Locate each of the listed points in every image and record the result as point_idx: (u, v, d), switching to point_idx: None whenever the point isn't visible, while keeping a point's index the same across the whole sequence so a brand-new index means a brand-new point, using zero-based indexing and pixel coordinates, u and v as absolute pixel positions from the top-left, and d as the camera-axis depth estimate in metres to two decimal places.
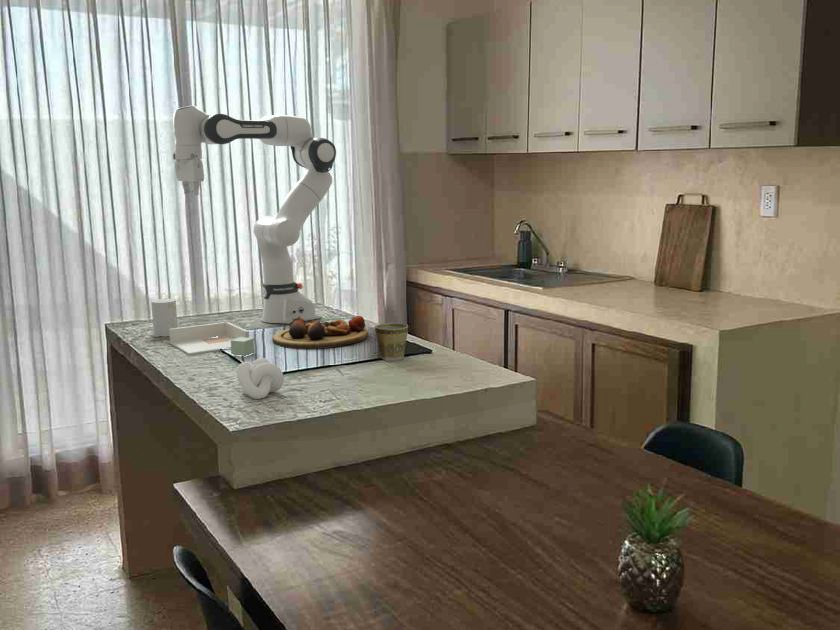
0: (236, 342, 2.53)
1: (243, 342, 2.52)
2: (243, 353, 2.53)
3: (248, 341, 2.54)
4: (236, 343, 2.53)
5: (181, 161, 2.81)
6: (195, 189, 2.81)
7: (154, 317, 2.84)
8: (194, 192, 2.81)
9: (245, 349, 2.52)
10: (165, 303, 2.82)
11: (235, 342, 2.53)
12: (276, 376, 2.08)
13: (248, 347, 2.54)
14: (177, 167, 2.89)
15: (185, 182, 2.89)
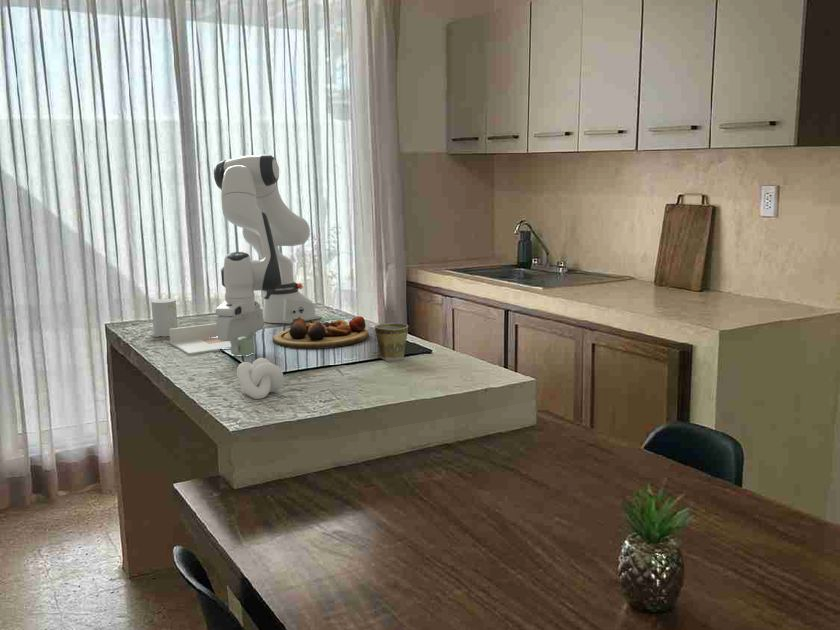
0: None
1: (243, 342, 2.52)
2: (243, 353, 2.52)
3: (248, 341, 2.54)
4: None
5: (250, 313, 2.53)
6: None
7: (154, 317, 2.84)
8: None
9: (245, 349, 2.52)
10: (165, 303, 2.82)
11: None
12: (276, 376, 2.08)
13: (248, 347, 2.54)
14: (231, 324, 2.46)
15: None
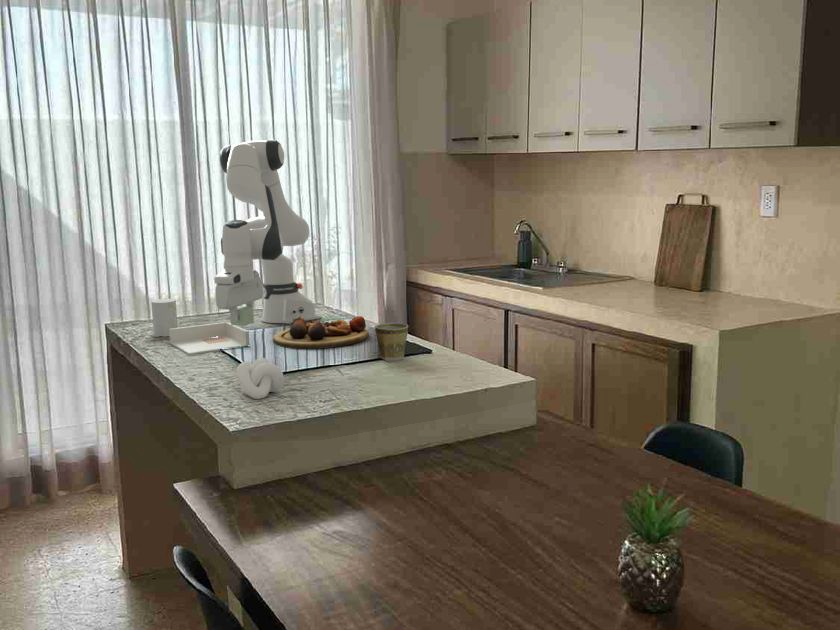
0: None
1: (242, 310, 2.50)
2: (242, 321, 2.51)
3: (247, 309, 2.52)
4: None
5: (249, 281, 2.51)
6: None
7: (154, 317, 2.84)
8: None
9: (244, 317, 2.51)
10: (165, 303, 2.82)
11: None
12: (276, 376, 2.08)
13: (248, 315, 2.53)
14: (230, 292, 2.45)
15: None
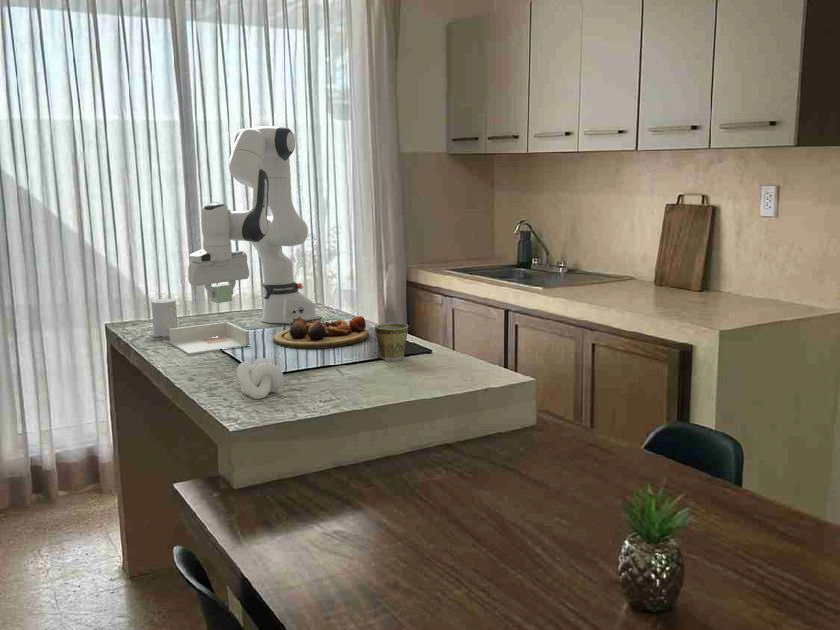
0: (212, 288, 2.65)
1: (216, 288, 2.63)
2: (217, 299, 2.64)
3: (223, 288, 2.64)
4: (213, 289, 2.65)
5: (225, 261, 2.63)
6: None
7: (154, 317, 2.84)
8: None
9: (218, 295, 2.63)
10: (165, 303, 2.82)
11: (212, 288, 2.65)
12: (276, 376, 2.08)
13: (223, 293, 2.64)
14: (200, 270, 2.58)
15: None
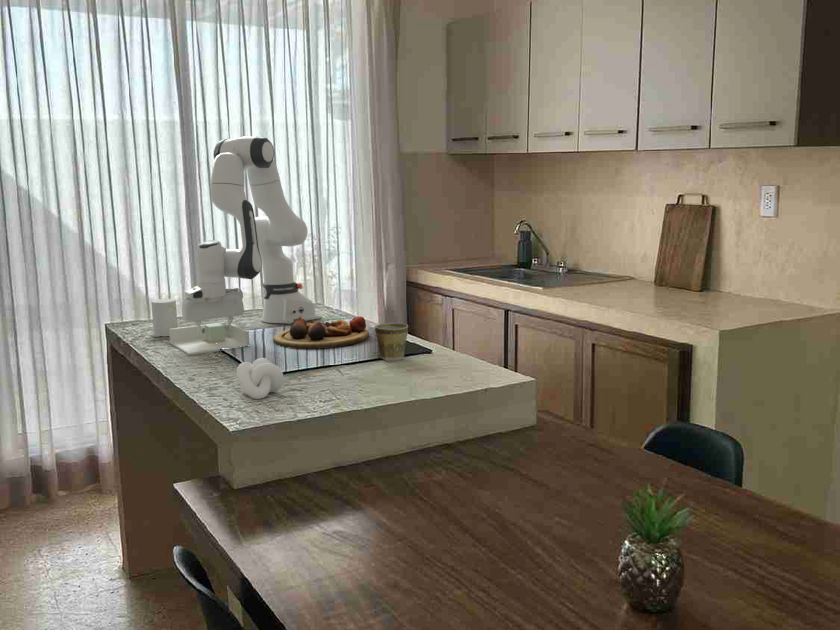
0: (206, 327, 2.72)
1: (209, 328, 2.70)
2: (209, 338, 2.71)
3: (216, 327, 2.71)
4: (207, 328, 2.72)
5: (218, 298, 2.70)
6: None
7: (154, 317, 2.84)
8: None
9: (211, 334, 2.71)
10: (165, 303, 2.82)
11: (206, 327, 2.73)
12: (276, 376, 2.08)
13: (216, 333, 2.71)
14: (192, 306, 2.66)
15: None
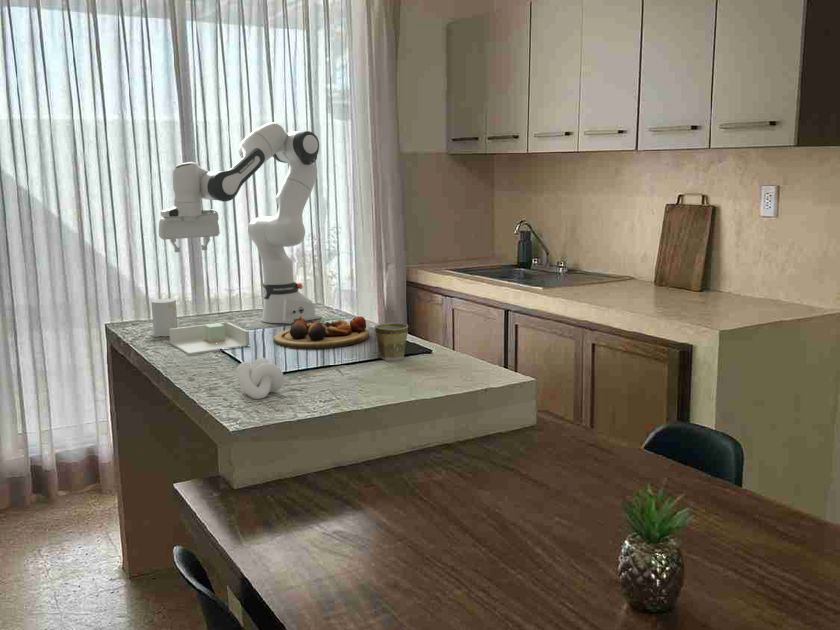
0: (206, 327, 2.72)
1: (209, 328, 2.70)
2: (209, 338, 2.71)
3: (216, 327, 2.71)
4: (207, 328, 2.72)
5: (194, 217, 2.78)
6: None
7: (154, 317, 2.84)
8: (206, 247, 2.85)
9: (211, 334, 2.71)
10: (165, 303, 2.82)
11: (206, 327, 2.73)
12: (276, 376, 2.08)
13: (216, 333, 2.71)
14: (168, 225, 2.75)
15: None
